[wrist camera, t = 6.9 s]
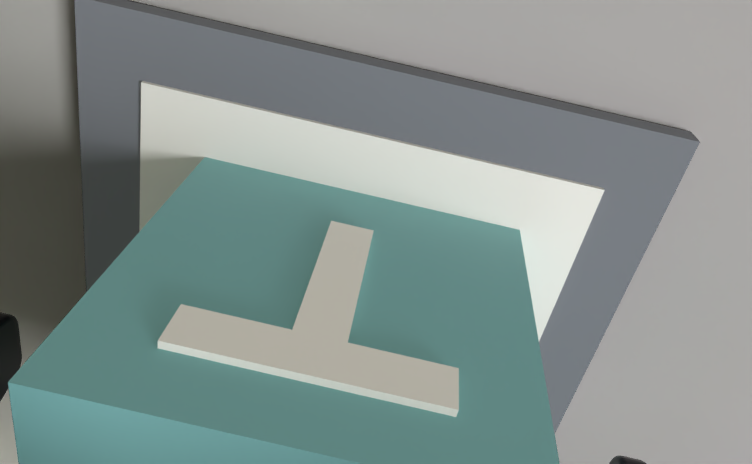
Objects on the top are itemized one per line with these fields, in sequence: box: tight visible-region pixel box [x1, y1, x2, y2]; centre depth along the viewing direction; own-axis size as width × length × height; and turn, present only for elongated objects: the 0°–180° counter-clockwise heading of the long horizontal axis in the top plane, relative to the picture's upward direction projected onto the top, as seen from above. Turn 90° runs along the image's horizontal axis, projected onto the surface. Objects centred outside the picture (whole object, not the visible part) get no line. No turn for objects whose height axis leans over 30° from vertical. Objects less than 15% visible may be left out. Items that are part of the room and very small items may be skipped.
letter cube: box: [8, 157, 559, 464], centre depth 9 cm, size 5×5×5 cm
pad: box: [74, 0, 700, 434], centre depth 11 cm, size 9×9×1 cm
